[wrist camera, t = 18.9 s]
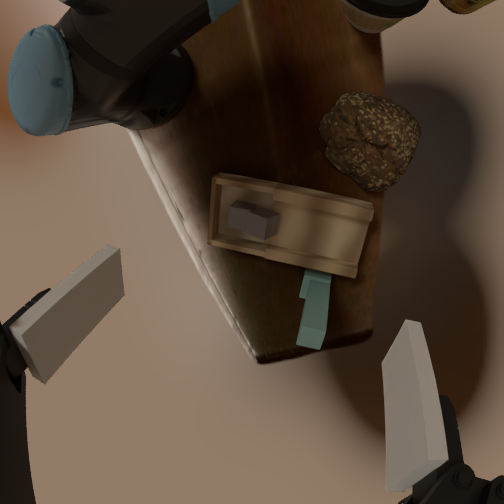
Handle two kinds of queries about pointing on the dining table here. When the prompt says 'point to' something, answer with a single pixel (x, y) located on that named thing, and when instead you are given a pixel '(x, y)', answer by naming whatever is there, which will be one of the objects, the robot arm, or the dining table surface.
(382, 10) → the coffee cup
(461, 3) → the sauce bottle
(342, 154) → the bread roll
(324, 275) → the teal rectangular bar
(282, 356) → the dining table surface
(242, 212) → the chip
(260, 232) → the chip
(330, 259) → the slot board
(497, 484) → the robot arm
